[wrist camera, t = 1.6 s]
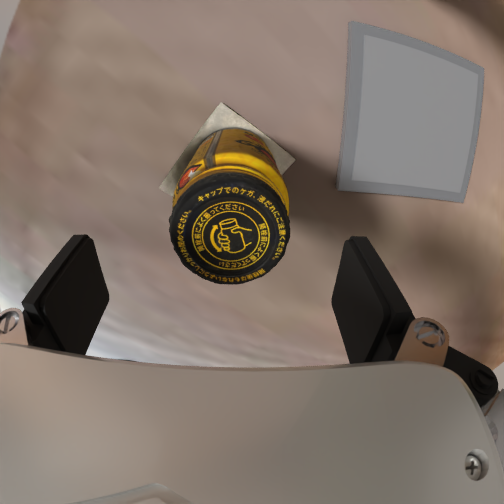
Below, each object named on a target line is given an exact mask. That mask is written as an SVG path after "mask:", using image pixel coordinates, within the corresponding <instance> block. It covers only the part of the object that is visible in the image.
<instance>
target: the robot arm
mask: <svg viewBox="0 0 504 504" xmlns="http://www.w3.org/2000/svg"><path fill="white" fill-rule="evenodd" d="M108 302H109V292H108V289H107V286H106V283H105V280H104V277H103V273H102V270H101V267H100V263H99V260H98V256H97V252H96V249H95V245H94V241H93V240H92V239H91V238H90V237H89V236H88V235H73V236H72V237H71V239H70V240H69V241H68V242H67V243H66V244H65V246H64V247H63V248H62V249H61V251H60V252H59V253H58V254H57V255H56V257H55V258H54V259H53V260H52V262H51V263H50V264H49V266H48V267H47V268H46V269H45V271H44V272H43V273H42V275H41V276H40V277H39V279H38V280H37V281H36V283H35V284H34V285H33V287H32V288H31V290H30V291H29V292H28V294H27V295H26V297H25V298H24V300H23V301H22V302H21V303H22V305H23V307H24V311H23V312H22V311H21V310H20V309H17V308H9V309H6V310H4V311H3V312H1V313H0V504H504V389H502V390H501V391H499V390H498V381H497V378H496V376H495V374H494V373H493V371H492V370H491V369H490V368H488V367H487V366H485V365H483V364H481V363H480V362H478V361H476V360H474V359H472V358H470V357H468V356H467V355H465V354H463V353H461V352H459V351H457V350H455V349H454V348H452V347H450V346H448V345H449V335H448V332H447V331H446V329H445V328H444V327H443V326H442V325H441V324H440V323H439V322H437V321H435V320H433V319H430V318H425V317H421V318H416V319H415V317H414V315H413V313H412V310H411V309H410V307H409V305H408V303H407V302H406V300H405V298H404V296H403V295H402V293H401V291H400V290H399V288H398V286H397V284H396V283H395V281H394V279H393V278H392V276H391V275H390V273H389V271H388V270H387V268H386V266H385V265H384V263H383V262H382V260H381V258H380V257H379V255H378V254H377V252H376V251H375V249H374V248H373V246H372V244H371V243H370V241H369V240H368V238H367V237H357V236H351V237H350V239H349V240H346V241H345V243H344V247H343V252H342V256H341V261H340V265H339V270H338V274H337V278H336V283H335V287H334V291H333V295H332V307H333V310H334V313H335V317H336V320H337V323H338V326H339V329H340V332H341V336H342V339H343V342H344V345H345V349H346V352H347V355H348V359H349V362H350V364H340V365H323V366H303V367H274V368H230V367H199V366H180V365H166V364H154V363H143V362H133V361H124V360H116V359H108V358H101V357H94V356H87V355H85V354H86V352H87V349H88V347H89V345H90V342H91V340H92V338H93V335H94V333H95V331H96V328H97V326H98V324H99V322H100V319H101V317H102V315H103V313H104V311H105V309H106V306H107V304H108Z"/></svg>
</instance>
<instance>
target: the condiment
mask: <svg viewBox="0 0 504 504" xmlns="http://www.w3.org/2000/svg"><path fill="white" fill-rule="evenodd" d="M295 160H296V159H295V158H293V157H292V156H291V155H290V154H289V153H287V152H286V151H285V150H284V149H282V148H281V147H280V146H279V145H277V144H276V143H275V142H274V141H272V140H271V139H270V138H269V137H267V136H266V135H265V134H263V133H262V132H261V131H259V130H258V129H257V128H256V127H254V126H253V125H252V124H250V123H249V122H248V121H246V120H245V119H243V118H242V117H241V116H239V115H238V114H236V113H235V112H234V111H232V110H231V109H230V108H228V107H227V106H225V105H224V104H223V103H220V104H219V105H218V107H217V108H216V109H215V110H214V112H213V113H212V114H211V116H210V117H209V118H208V119H207V121H206V122H205V123H204V125H203V126H202V127H201V129H200V130H199V131H198V133H197V134H196V135H195V137H194V138H193V139H192V141H191V142H190V144H189V145H188V146H187V148H186V149H185V150H184V152H183V153H182V155H181V156H180V158H179V159H178V160H177V162H176V163H175V165H174V166H173V168H172V169H171V171H170V172H169V174H168V175H167V177H166V178H165V180H164V181H163V183H162V184H161V186H160V187H159V189H160V190H162V191H163V192H165V193H167V194H169V195H170V196H172V197H173V210H172V215H171V216H170V218H169V223H170V228H169V232H170V237H171V242H172V243H173V246H174V250H175V251H176V253H177V255H178V256H179V258H180V260H181V262H182V263H183V265H184V266H185V267H187V268H188V269H189V270H190V271H192V272H193V273H195V274H197V275H198V276H200V277H201V278H203V279H205V280H208V281H211V282H214V283H218V284H242V283H245V282H249V281H252V280H254V279H257V278H259V277H262V276H264V275H265V274H267V273H268V272H269V271H270V270H271V269H272V268H273V267H275V266H276V265H277V263H278V262H279V261H280V260H281V259H282V257H283V256H284V254H285V250H286V246H287V243H288V242H289V238H290V226H289V223H290V220H289V217H288V216H289V197H288V190H287V187H286V185H285V183H284V180H283V178H282V174H283V173H284V172H285V171H286V170H287V169H288V168H289V167H290V165H291V164H292V163H293V162H294V161H295Z"/></svg>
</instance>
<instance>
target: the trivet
mask: <svg viewBox="0 0 504 504" xmlns="http://www.w3.org/2000/svg"><path fill="white" fill-rule="evenodd" d="M483 84H484V68H483V67H481V66H479V65H477V64H475V63H473V62H471V61H469V60H466V59H464V58H462V57H460V56H458V55H456V54H453V53H451V52H449V51H446V50H444V49H441V48H439V47H437V46H434V45H431V44H429V43H426V42H423V41H421V40H418V39H415V38H412V37H409V36H406V35H403V34H400V33H396V32H393V31H390V30H386V29H383V28H379V27H375V26H371V25H367V24H363V23H359V22H354V21H351V22H349V23H348V53H347V74H346V90H345V103H344V115H343V126H342V137H341V146H340V155H339V164H338V172H337V180H336V188H337V190H338V191H353V192H367V193H380V194H391V195H402V196H412V197H421V198H430V199H439V200H447V201H455V202H462V203H463V202H464V198H465V194H466V191H467V186H468V182H469V178H470V174H471V169H472V164H473V159H474V154H475V149H476V143H477V137H478V131H479V124H480V116H481V107H482V97H483Z"/></svg>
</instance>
